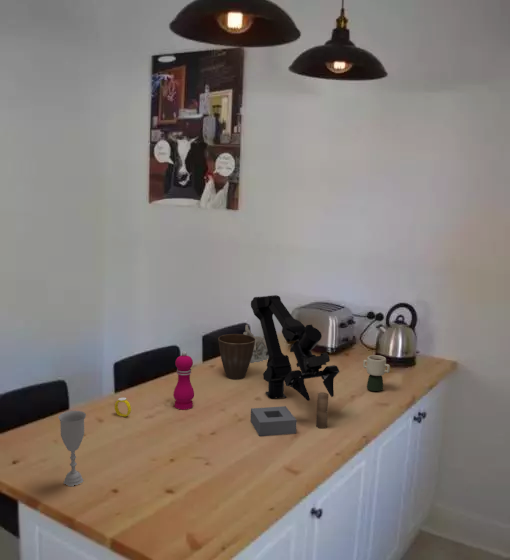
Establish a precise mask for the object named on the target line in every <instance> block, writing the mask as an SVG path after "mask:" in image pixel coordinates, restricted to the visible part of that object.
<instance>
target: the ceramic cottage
mask: <svg viewBox="0 0 510 560" xmlns="http://www.w3.org/2000/svg"><path fill="white" fill-rule="evenodd" d="M243 334H244V335H249V336H252V337H254V338H255V345H254V350H253V354H252V358H251V361H250V364H255V363H254V362H257V363H261V362H264V361H263V360H266V361H268V360H267V359H269V354H268V350H267V346H266V342H265V338H264V335H263V336H261V335H260V336H254V334H253V333H252V332H251V329H250V327H249V324H245V329H244V332H243ZM260 361H261V362H260Z"/></svg>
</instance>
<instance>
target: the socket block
mask: <svg viewBox="0 0 510 560" xmlns="http://www.w3.org/2000/svg"><path fill="white" fill-rule="evenodd" d="M297 422H298V420H297V419H296V417H295V416H294V415H293V414H292V412H291V411H290V410H289V409H288V407H287V406H286V405H284V406H283V405H282V406H269V407H254V408H253V407H252V408H250V423H251V424H252V426H253V428H254V430H255V431H256V433H257V435H258V436H259V437H266V436H278V435H294V434H297Z"/></svg>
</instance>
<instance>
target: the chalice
mask: <svg viewBox="0 0 510 560" xmlns="http://www.w3.org/2000/svg"><path fill="white" fill-rule="evenodd" d="M86 416H87V414H86V413H85V412H84V411H80V410H70V411H65V412H63V413H60V414H59V415H58V420H59V423H60V437H61V440H62V442H63V444H64V446H65V448H66V450H67V451H69V452H70V453H71V454H70V456H69V459H70V460H71V462H70V463H69V466H70V467H71V470H70V471H69V472H67V474H65V478H64V481H63V484H66V485H68V486H67V487H75V486H74V485H78V484H80V483H82V482H83V483H84V481H83V480H84V478H83V477H82V474H81V472H80V471H78V470H76V466H77V462H76V458H77V455H76V451H77V450H79V448H80V446H81V443H82V442H83V438H84V435H85V419H86ZM83 483H82V484H83ZM66 485H65V486H66ZM80 485H81V484H80ZM78 486H79V485H78Z"/></svg>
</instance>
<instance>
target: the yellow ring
mask: <svg viewBox="0 0 510 560" xmlns="http://www.w3.org/2000/svg"><path fill="white" fill-rule="evenodd" d="M119 403H124V404H125V405H126V407H127V413H121V412H120V410H119V406H118V405H119ZM114 410H115V413H116V414H117V416H120V417H123V418H124V417H125V418H127V417H128V416H129V415H130V414H131V411H132V407H131V404H130V402H129V401H128V400H127V397H119V398H118V399H117V400H116V401H115V403H114Z"/></svg>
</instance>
